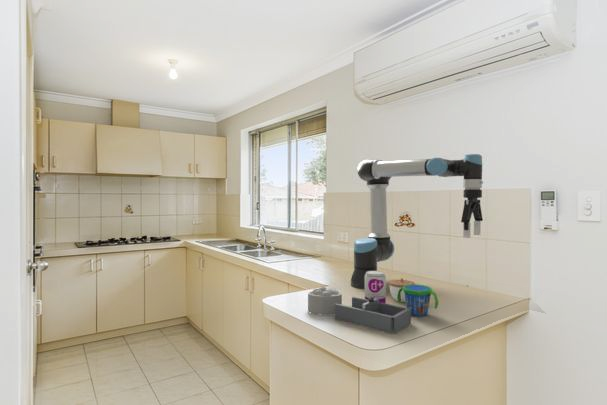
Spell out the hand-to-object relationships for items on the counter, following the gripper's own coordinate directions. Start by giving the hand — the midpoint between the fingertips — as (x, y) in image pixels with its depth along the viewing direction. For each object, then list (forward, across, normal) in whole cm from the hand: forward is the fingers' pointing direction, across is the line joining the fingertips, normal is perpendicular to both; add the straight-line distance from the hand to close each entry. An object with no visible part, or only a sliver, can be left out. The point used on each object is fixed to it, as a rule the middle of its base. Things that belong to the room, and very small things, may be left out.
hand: (472, 236), depth 166 cm
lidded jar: (+28, -26, +21) cm, 43 cm away
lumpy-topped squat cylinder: (+28, -60, +37) cm, 76 cm away
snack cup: (+28, -39, +7) cm, 48 cm away
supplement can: (+28, -46, +22) cm, 58 cm away
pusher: (+26, -58, +16) cm, 66 cm away
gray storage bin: (+27, -58, +16) cm, 66 cm away
